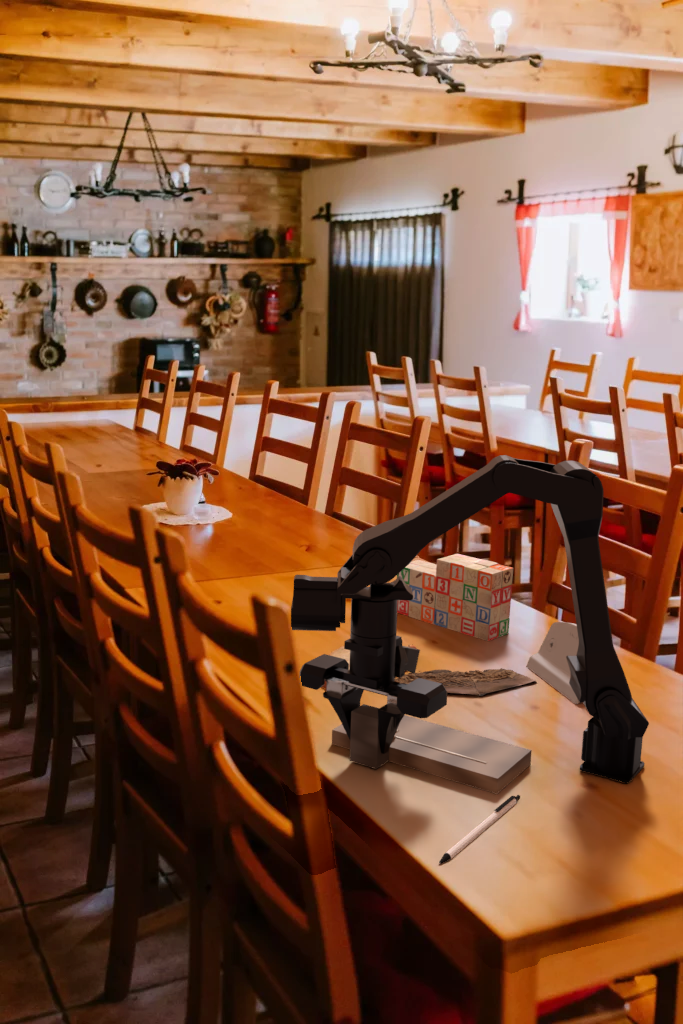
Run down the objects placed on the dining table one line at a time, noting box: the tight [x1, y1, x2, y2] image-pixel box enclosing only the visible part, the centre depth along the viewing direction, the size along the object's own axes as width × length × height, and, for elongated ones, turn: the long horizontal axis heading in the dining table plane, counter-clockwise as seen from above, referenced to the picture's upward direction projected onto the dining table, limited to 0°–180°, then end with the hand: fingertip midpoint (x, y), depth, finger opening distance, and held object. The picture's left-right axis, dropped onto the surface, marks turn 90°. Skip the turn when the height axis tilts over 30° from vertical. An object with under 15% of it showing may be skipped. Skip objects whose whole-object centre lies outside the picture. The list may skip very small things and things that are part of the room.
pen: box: [438, 794, 521, 865], centre depth 122 cm, size 1×19×1 cm, turn 145°
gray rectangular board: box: [331, 706, 532, 795], centre depth 141 cm, size 24×10×2 cm, turn 57°
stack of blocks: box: [396, 553, 514, 642], centre depth 194 cm, size 21×6×12 cm, turn 46°
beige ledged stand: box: [526, 621, 580, 705], centre depth 167 cm, size 17×5×10 cm, turn 17°
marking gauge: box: [349, 704, 397, 770], centre depth 139 cm, size 4×7×7 cm, turn 147°
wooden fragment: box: [395, 667, 538, 697], centre depth 165 cm, size 26×11×1 cm, turn 98°
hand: (369, 748), depth 138 cm, fingers open, 4 cm apart
